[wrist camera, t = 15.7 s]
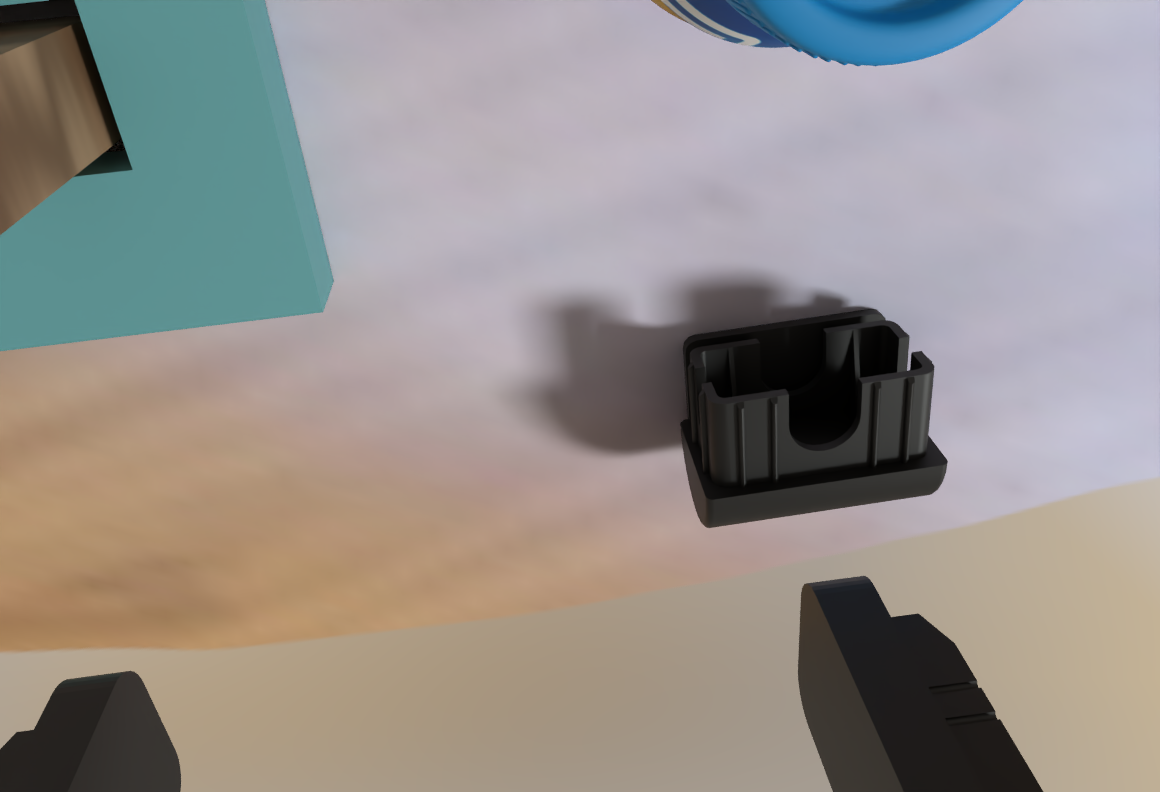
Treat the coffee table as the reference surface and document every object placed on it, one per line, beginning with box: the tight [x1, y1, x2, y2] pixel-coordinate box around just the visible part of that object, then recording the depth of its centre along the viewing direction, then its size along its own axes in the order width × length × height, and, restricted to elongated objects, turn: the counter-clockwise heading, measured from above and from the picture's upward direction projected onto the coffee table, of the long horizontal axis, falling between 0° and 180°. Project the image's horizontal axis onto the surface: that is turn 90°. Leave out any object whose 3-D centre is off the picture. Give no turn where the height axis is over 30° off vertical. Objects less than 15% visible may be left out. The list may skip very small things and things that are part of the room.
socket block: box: [0, 0, 334, 351], centre depth 32 cm, size 18×16×3 cm
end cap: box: [680, 309, 947, 528], centre depth 40 cm, size 10×7×7 cm
